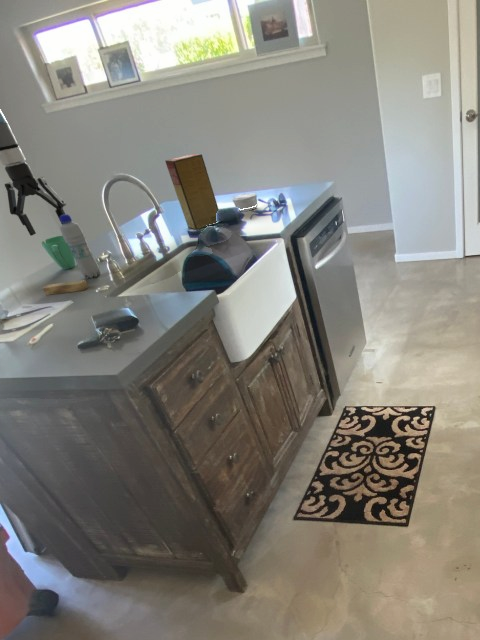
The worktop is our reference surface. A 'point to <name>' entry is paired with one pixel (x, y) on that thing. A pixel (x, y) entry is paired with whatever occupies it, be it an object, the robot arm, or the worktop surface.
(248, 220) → the worktop surface
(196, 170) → the food packaging
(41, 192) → the robot arm
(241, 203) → the ramekin
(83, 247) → the bottle
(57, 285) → the stick
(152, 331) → the worktop surface
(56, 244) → the mug
